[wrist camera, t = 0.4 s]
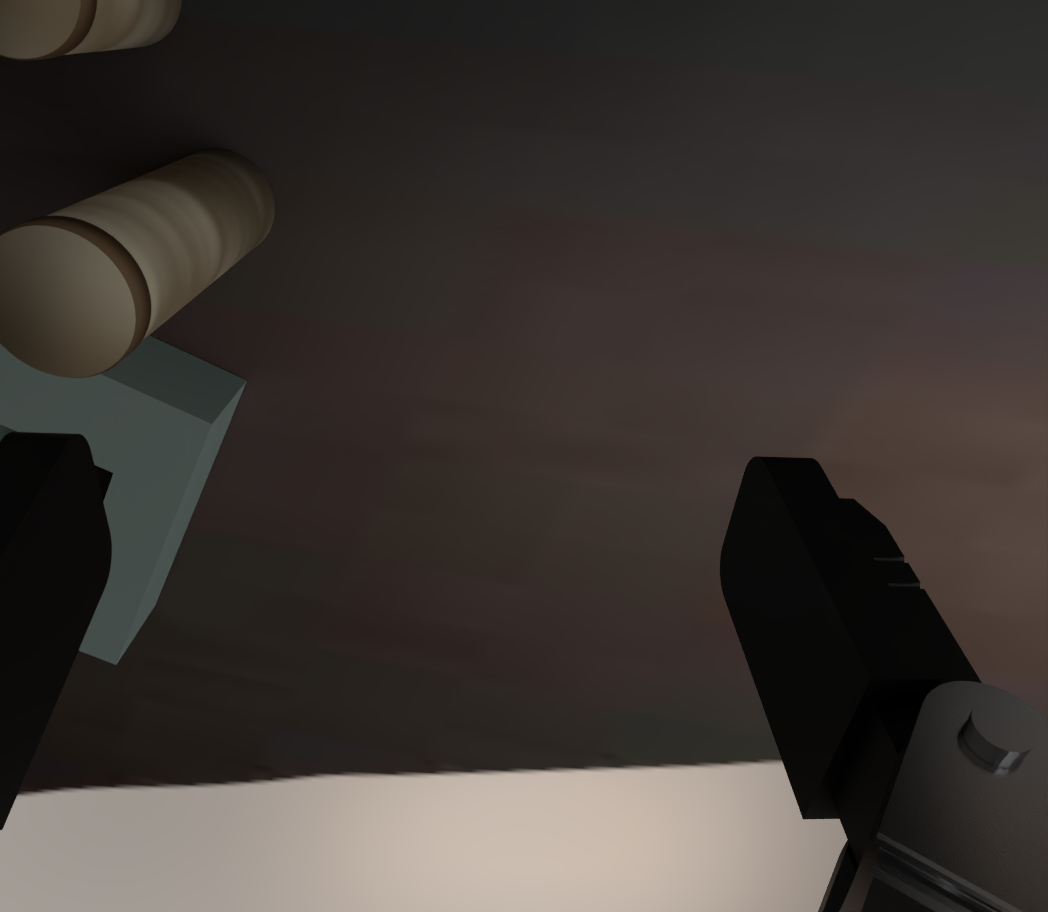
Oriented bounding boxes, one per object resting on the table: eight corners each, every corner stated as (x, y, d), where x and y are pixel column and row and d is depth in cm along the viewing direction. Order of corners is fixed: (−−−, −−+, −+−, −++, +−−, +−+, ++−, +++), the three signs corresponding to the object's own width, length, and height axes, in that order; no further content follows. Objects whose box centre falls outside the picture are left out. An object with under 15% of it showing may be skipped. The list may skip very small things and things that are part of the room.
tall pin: (189, 126, 30) (-8, 193, 19) (291, 179, 31) (156, 272, 20) (157, 224, 32) (-42, 336, 21) (255, 272, 32) (111, 405, 22)
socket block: (-14, 259, 32) (-83, 291, 29) (246, 380, 34) (211, 424, 31) (-76, 511, 37) (-142, 564, 34) (155, 604, 39) (116, 664, 36)
